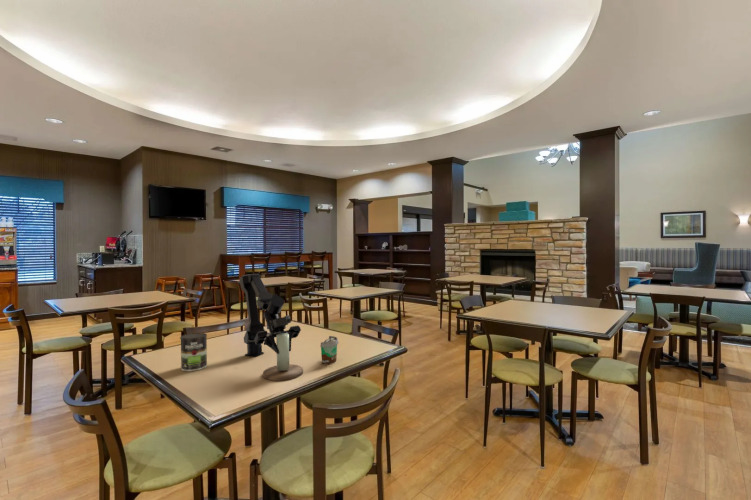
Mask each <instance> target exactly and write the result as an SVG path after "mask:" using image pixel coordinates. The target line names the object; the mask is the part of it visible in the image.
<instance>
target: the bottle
mask: <svg viewBox="0 0 751 500" xmlns="http://www.w3.org/2000/svg"><path fill="white" fill-rule="evenodd" d="M275 338H276V345H277V348H278V351H279V354H277V353H276V366H277V370H280V371H283V370H288V369H289V364H290V351H289V334H288V333H280V334H277V335H276V337H275Z"/></svg>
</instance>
